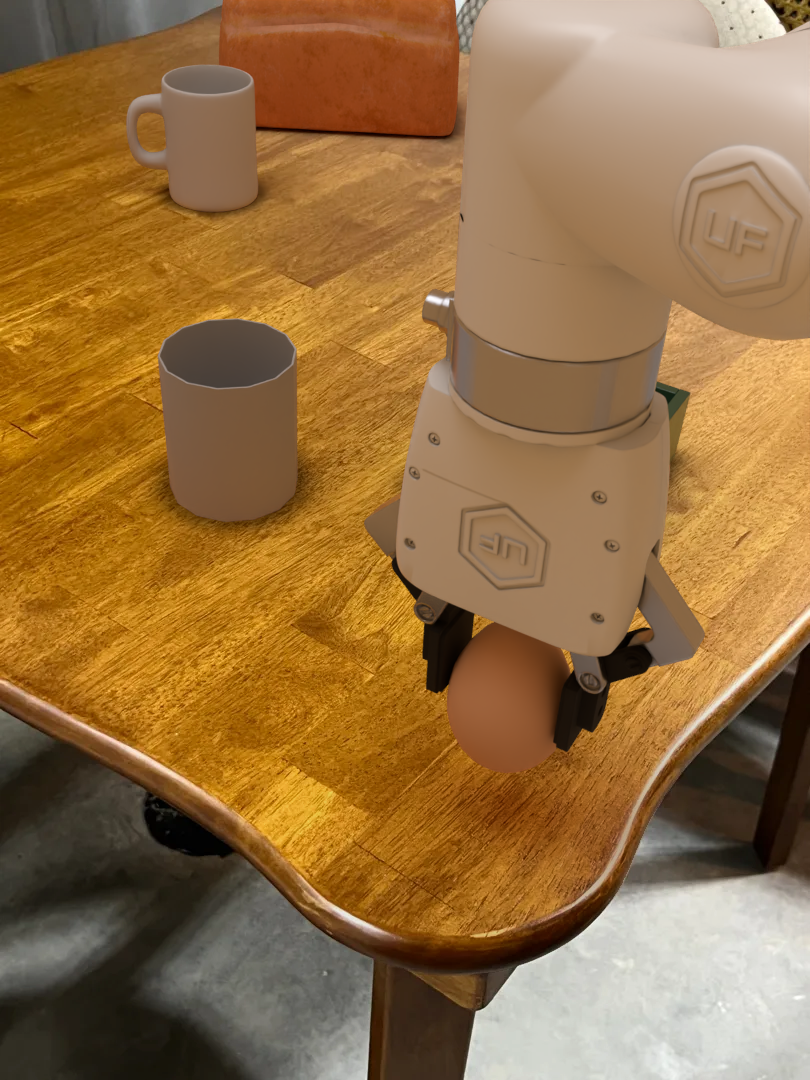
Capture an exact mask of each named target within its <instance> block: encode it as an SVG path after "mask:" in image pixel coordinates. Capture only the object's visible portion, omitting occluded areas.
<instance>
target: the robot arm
mask: <svg viewBox="0 0 810 1080" xmlns="http://www.w3.org/2000/svg"><path fill="white" fill-rule="evenodd" d="M472 31H473V32H472V35H471V36H472V37H471V45H470V52H469V53H470V54H469V65H468V76H467V77H468V78H467V79H468V80H467V92H466V93H467V95H466V108H465V109H466V110H465V123H464V124H465V125H464V139H463V156H462V171H461V184H460V185H461V187H460V190H461V191H460V202H459V216H458V217H459V218H458V219H459V220H458V233H457V247H456V263H455V280H454V290H453V289H452V290H450V291H448V292H447V291H444V290H441V289H437V288H432V289H431V290H430V291H429V292H428V293H427V295H426V297H425V299H424V302H423V305H422V310H421V318H422V322H423V323H424V324H427V325H430V326H433V327H436V328H438V330H439V332H440V333H444V334H445V336H446V348H445V357H443V358H442V359H440V360H439V361H437V362H435V364H434V365H432V367H431V368H430V370H429V372H428V374H427V376H426V380H425V383H424V386H423V389H422V392H421V396H420V399H419V402H418V407H417V411H416V414H415V419H414V423H413V427H412V431H411V436H410V442H409V446H408V450H407V455H406V460H405V466H404V470H403V471H404V472H403V478H402V485H401V492H399V493H398V494H396V495H394V496H393V497H391V498H389V499H388V500H386V501H385V502H382V503H381V504H380V505H379V506H378V507H377V508H375V510H373V512H372V513H371V514H369V515H368V516H367V517H366V518H365V519H364V522H363V525H364V526H363V527H364V528H365V530H366V532H367V533H368V534H369V536H370V537H371V538H372V540H373V541H374V543H375V544H376V545H377V546H378V547H379V549H380V550H381V551H382V552H383V554H384V555H385V556H386V558H387V557H390V559H391V568H392V571H393V572H394V573H395V575H396V576H397V577H398V579H399V580H400V581H401V583H402V584H403V585H404V587H405V588H406V589H407V591H408V592H409V593H410V595H411V596H412V598H413V599H414V600H415V602H414V605H413V613H414V615H415V617H416V618H417V619H418V620H419V621H420V622H421V623H423V634H422V654H421V658H422V660H424V661H427V663H426V680H425V681H426V682H425V689H426V690H427V691H429V692H432V693H434V694H439V693H444V691H445V690H446V688H448V686H449V680H450V677H451V674H452V671H453V668H454V665H455V663H456V661H457V659H458V657H459V655H460V654H461V652H462V651H463V650H464V648H465V647H466V646H467V644H468V643H469V642H470V640H471V639H472V638H473V632H474V622H475V615H477V616H479V617H482V618H483V619H486V620H489V621H491V622H496V623H498V624H501V625H503V626H506V627H508V628H511V629H513V630H516V631H518V632H521V633H523V634H526V635H528V636H531V637H533V638H536V639H538V640H541V641H543V642H546V643H548V644H551V645H553V646H556V647H558V648H561V650H564V651H567V652H569V655H570V660H571V664H572V667H573V670H572V671H571V674H570V676H569V677H568V679H567V680H566V682H565V683H564V685H563V688H562V692H561V698H560V704H559V710H558V715H557V721H556V727H555V733H554V739H553V743H555V744H556V748H557V749H558V750H561V751H563V752H565V753H568V752H569V750H570V749H572V746H573V744H574V743H575V741H576V740H577V738H578V737H579V735H580V734H581V732H582V730H584V731H587V732H589V733H591V734H593V733H594V732H595V731H596V729H597V727H598V725H599V724H600V723H601V721H602V719H603V716H604V714H605V711H606V708H607V703H608V699H609V694H610V688H611V684H612V683H616V682H620V681H622V680H626V679H629V678H633V677H636V676H640V675H644V674H645V673H647V672H648V670H649V669H650V668H653V667H658V668H660V667H664V666H668V665H672V664H675V663H676V664H677V663H680V662H684V661H688V660H690V659H692V658H694V656H695V655H696V653H697V651H698V650H699V648H700V646H701V644H702V642H703V640H704V639H705V637H706V635H705V634H706V633H705V630H704V628H703V626H702V625H701V623H700V622H699V620H698V619H697V617H696V616H695V614H694V613H693V611H692V609H691V608H690V607H689V605H688V604H687V602H686V600H685V599H684V597H683V596H682V594H681V593H680V591H679V590H678V588H677V586H676V585H675V584H674V582H673V581H672V579H671V577H670V576H669V575H668V572H667V571H666V570H665V568H664V566H663V565H662V564H661V562H660V561H661V555H662V548H663V543H664V536H665V527H666V520H667V510H668V502H669V501H668V500H669V491H670V490H669V488H670V467H671V464H670V431H669V415H668V404H667V401H666V398H665V397H664V396H663V395H662V394H660V393H658V392H656V391H655V388H656V383H657V382H658V378H659V372H660V369H661V368H660V367H661V364H662V363H661V362H662V358H663V357H662V356H663V352H664V348H665V347H664V346H665V341H666V336H667V333H668V332H667V331H668V324H669V319H670V315H671V311H672V310H671V309H672V305H673V302H674V303H676V304H678V305H680V306H681V307H683V308H684V309H686V310H688V311H690V312H692V313H694V314H695V315H696V316H698V317H700V318H702V319H705V320H706V321H708V322H711V323H713V324H714V325H717V326H719V327H722V328H724V329H726V330H729V331H732V332H735V333H738V334H741V335H744V336H746V337H747V336H748V337H751V338H757V339H762V340H763V339H764V340H771V341H783V342H785V341H786V342H787V341H797V340H806V339H810V20H809V21H807V22H805V23H803V24H801V25H800V26H797V27H796V28H794V29H792V30H790V31H788V32H786V33H784V34H783V35H779V36H775V37H771V38H766V39H763V40H758V41H753V42H748V43H744V44H740V45H739V44H738V45H732V46H724V47H720V36H719V31H718V28H717V24H716V22H715V20H714V17H713V16H712V13H711V11H710V10H709V9H708V8H707V7H706V6H705V5H704V3H702V1H701V0H487V1H486V2H485V3H484V5H483V6H482V8H481V10H480V12H479V14H478V16H477V19H476V21H475V25H474V28H473V30H472ZM637 609H638V610H639V612H640V614H641V615H642V616H643V618H644V619H645V621H646V622H647V624H648V625H649V627H646V626H644V627H643V626H642V627H638V628H636V629H632V630H630V627H631V624H632V622H633V620H634V617H635V615H636V613H637ZM629 630H630V631H629Z"/></svg>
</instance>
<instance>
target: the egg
mask: <svg viewBox="0 0 810 1080" xmlns="http://www.w3.org/2000/svg"><path fill="white" fill-rule="evenodd" d="M569 665H570V664H569V663H568V660H567V659H566V656H565V654H564V651H563V649H561V648H558V647H556V646H553V645H551V644H548V643H546V642H543V641H541V640H538V639H536V638H533V637H531V636H528V635H526V634H523V633H521V632H518V631H516V630H513V629H511V628H508V627H506V626H503V625H501V624H498V623H496V622H494V621H492V622H491V623H489V624H487V625H486V626H484V627H483V628H482V629H481V630H480V631H478V632H477V633H476V634H475V635H473V636H472V639H471V640H470V642H469V643H468V644H467V646H466V647H465V648H464V650H463V651H462V652H461V654H460V655H459V657H458V659H457V661H456V663H455V665H454V668H453V671H452V674H451V677H450V680H449V684H448V686H447V695H446V712H447V718H448V723H449V726H450V730H451V731H452V734H453V736H454V738H455V740H456V742H457V743H458V745H459V747H460V748H461V750H462V751H463V752H464V753H465V754H466V755H467V756H468V757H469V758H470V759H471V760H472V761H473V762H475V763H476V764H478V765H480V767H482V768H485V769H487V770H490V771H492V772H495V773H496V772H497V773H502V774H513V773H519V772H520V773H521V772H524V771H526V770H529V769H532V768H535V767H537V766H538V765H540V764H541V763H542V762H544V761H545V760H547V759H548V758H549V757H550V756H551V755H552V754H553V753H555V751H556V750H557V749H558V748H556V744H555V743H553V739H554V733H555V727H556V721H557V715H558V710H559V704H560V698H561V692H562V688H563V685H564V683H565V682H566V680H567V679H568V677H569V676H570V674H571V673H572V671H571V669H570V666H569Z"/></svg>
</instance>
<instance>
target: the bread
mask: <svg viewBox="0 0 810 1080" xmlns="http://www.w3.org/2000/svg"><path fill="white" fill-rule="evenodd" d="M221 4H222V5H221V13H220V14H221V15H220V16H221V21H220V23H219V24H220V25H219V38H218V39H219V41H218V65H220V66H227V67H232V68H236V69H240V70H242V71H244V72H246V73H248V74H249V75H250V76H251V77H252V78H253V80H254V88H255V120H256V128H271V129H272V128H275V129H295V130H296V129H299V130H311V131H312V130H314V131H332V132H353V133H354V132H357V133H373V134H389V135H391V134H392V135H404V136H405V135H407V136H422V137H423V136H424V137H425V136H426V137H436V136H437V137H445V136H450V135H451V134H452V133H453V131H454V130H455V129H454V128H455V125H456V119H457V114H458V113H457V111H458V102H459V101H458V98H459V97H458V96H459V74H460V34H459V30H458V25H457V15H458V14H457V6H456V5H457V4H456V0H222V3H221Z"/></svg>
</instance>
